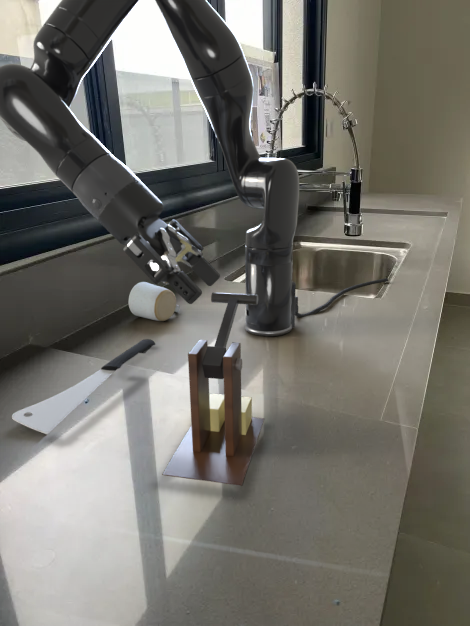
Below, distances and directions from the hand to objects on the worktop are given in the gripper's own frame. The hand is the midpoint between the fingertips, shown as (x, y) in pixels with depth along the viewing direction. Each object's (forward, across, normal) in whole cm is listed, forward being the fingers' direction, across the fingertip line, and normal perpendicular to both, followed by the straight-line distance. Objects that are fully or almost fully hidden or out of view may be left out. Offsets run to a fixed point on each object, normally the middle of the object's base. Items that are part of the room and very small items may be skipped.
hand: (206, 289), depth 65 cm
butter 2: (+15, -6, +8) cm, 18 cm away
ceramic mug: (-4, +37, +29) cm, 47 cm away
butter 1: (+13, -6, +10) cm, 17 cm away
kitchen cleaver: (0, +4, +25) cm, 26 cm away
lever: (+6, -5, +1) cm, 8 cm away
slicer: (+15, -10, +10) cm, 21 cm away
